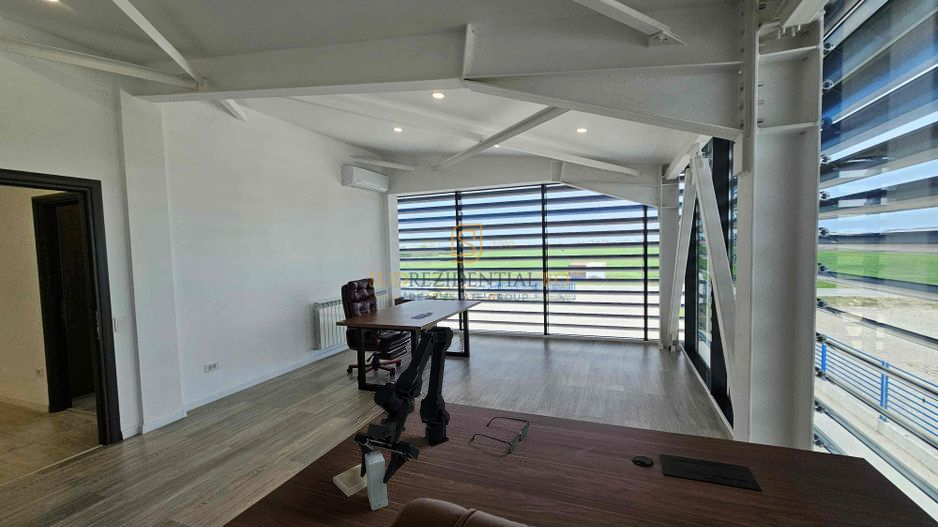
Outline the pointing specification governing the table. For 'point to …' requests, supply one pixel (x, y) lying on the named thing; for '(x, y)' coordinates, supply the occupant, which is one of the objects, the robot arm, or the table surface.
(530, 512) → the table surface
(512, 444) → the sunglasses
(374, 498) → the skincare box
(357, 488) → the plinth
